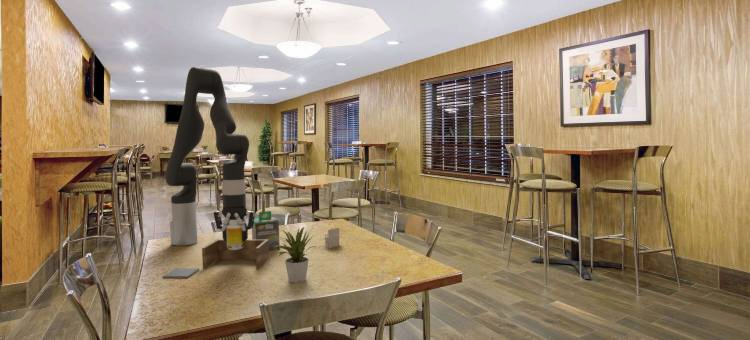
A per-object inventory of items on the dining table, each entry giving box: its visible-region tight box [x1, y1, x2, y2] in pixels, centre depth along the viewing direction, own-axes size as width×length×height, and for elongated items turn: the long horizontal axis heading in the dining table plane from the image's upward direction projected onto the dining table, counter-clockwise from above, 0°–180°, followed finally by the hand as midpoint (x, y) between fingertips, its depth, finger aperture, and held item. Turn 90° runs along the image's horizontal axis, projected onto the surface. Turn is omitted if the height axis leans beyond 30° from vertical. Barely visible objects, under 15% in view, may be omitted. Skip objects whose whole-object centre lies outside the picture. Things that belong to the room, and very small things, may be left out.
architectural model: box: [322, 227, 342, 249], centre depth 173 cm, size 3×7×7 cm, turn 136°
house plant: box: [274, 226, 317, 283], centre depth 133 cm, size 14×14×16 cm
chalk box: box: [251, 210, 281, 252], centre depth 169 cm, size 9×9×15 cm
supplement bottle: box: [226, 220, 244, 250], centre depth 149 cm, size 6×6×10 cm
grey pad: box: [162, 267, 200, 279], centre depth 139 cm, size 8×8×1 cm
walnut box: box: [201, 239, 270, 270], centre depth 150 cm, size 19×12×7 cm, turn 88°
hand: (235, 240), depth 149 cm, fingers closed on supplement bottle, 5 cm apart
